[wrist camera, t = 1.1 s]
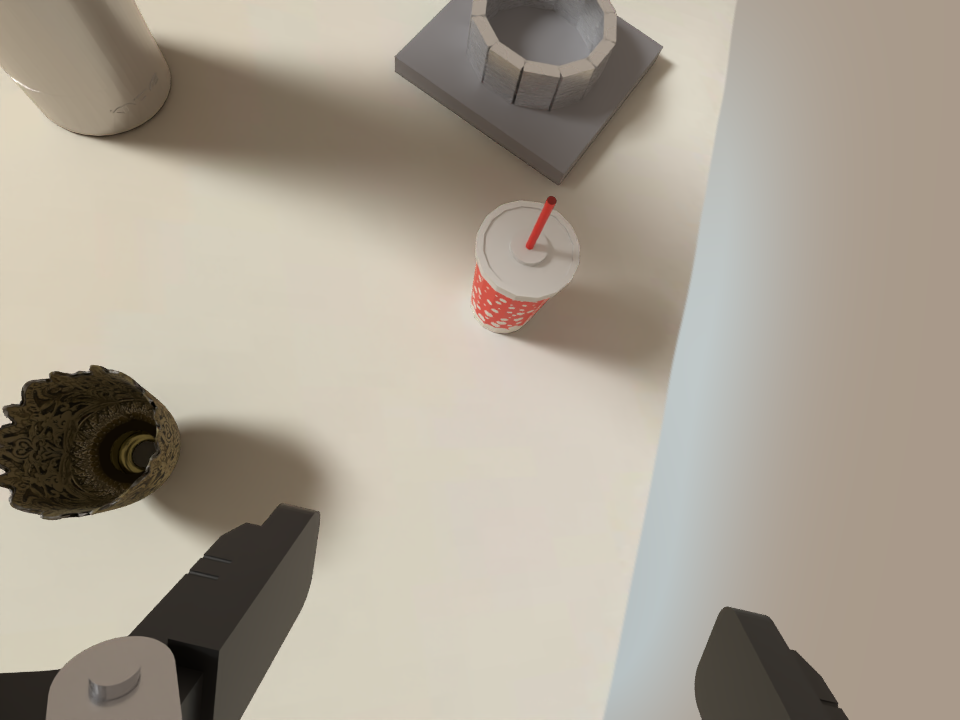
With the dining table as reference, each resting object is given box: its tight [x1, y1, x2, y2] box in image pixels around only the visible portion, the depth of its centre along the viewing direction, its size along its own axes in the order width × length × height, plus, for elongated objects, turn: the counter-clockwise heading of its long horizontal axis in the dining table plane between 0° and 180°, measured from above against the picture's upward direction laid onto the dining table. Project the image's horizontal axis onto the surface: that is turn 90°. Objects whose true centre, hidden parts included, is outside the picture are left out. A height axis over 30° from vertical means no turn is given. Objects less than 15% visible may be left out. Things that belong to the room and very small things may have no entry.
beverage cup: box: [471, 196, 580, 334], centre depth 33 cm, size 6×6×14 cm
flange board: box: [395, 0, 663, 185], centre depth 45 cm, size 16×16×2 cm
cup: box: [0, 365, 181, 520], centre depth 30 cm, size 8×7×8 cm
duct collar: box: [466, 0, 617, 111], centre depth 43 cm, size 11×11×4 cm
